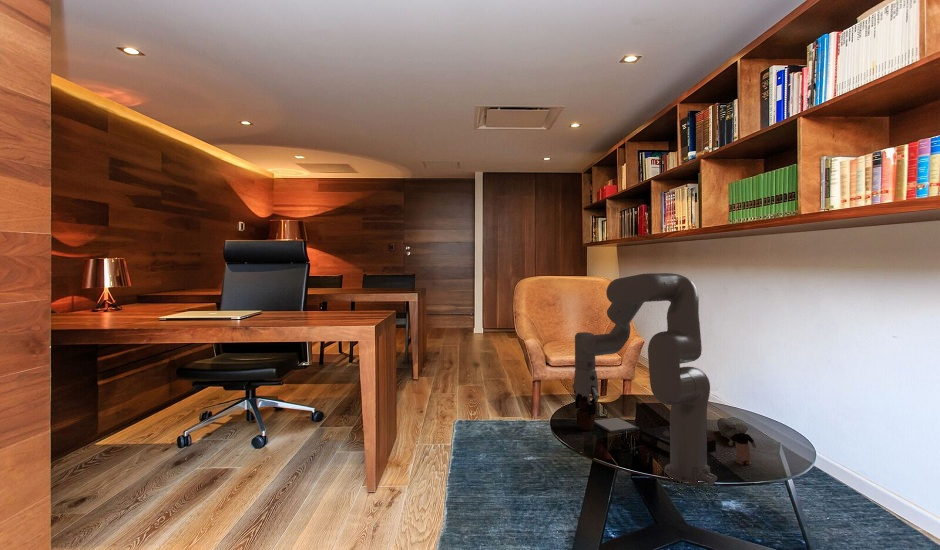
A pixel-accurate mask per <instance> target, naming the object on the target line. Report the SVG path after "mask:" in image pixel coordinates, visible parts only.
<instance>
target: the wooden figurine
mask: <svg viewBox="0 0 940 550" xmlns="http://www.w3.org/2000/svg"><path fill="white" fill-rule="evenodd" d="M588 404H589V403H588V400H587V397H585V396H582V395H581V394H580V401H579V408H577V410H576V413H575V417H576V423H577V426H578V428H579V429H580V430H582V431H592V430H593V428H594V426H595V424H594V421H595V420H596V417H595V415H596V414H595V415H588Z"/></svg>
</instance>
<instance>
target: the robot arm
mask: <svg viewBox="0 0 940 550" xmlns="http://www.w3.org/2000/svg"><path fill="white" fill-rule="evenodd" d="M605 293H606V297H607V300H608V302H609V303H611V304H610V305H609V307H608V308H607V310H606V315H607V317H608V318H609V320H610V321H611V322H612V323H613V324H614V326H613V328H612V329H611V331H610V332H609V333H600V334H594V333H592V332H585V331H583V332H581V331H580V332H577V333H576V334H575V335H574V374H573V375H574V378H573V384H572V389H573V393H574V398H575V406H574V407H575V409H580V408H579V401H580V394H581V395H582V396H585V397H587V400H588V403H589V404H588V415H596V410H597V405H598V403H597V402H598V400H599V398H600V394H599V380H598V374H597V370H596V357H598V356H605V355H614V354H616V353H618V352H620V350H621V351H622V349H623V347H624V346H625V345H626V344H627V342H628V340H629V339H630V336H631V322H632V321H633V319H634V318H635V316H636V315H637V313H638V312H639V311H640V309H641V308H642V306H643V305H644V303H646V302H647V303H648V302H649V303H650V302H663V301H664V302H666V301H667V302H670V304H669V307H668V309H667V313H666V323H667V324H666V325H667V326H666V328H667V329H666V330H665V331H664V330H663V331H660V332H657V333H655V334H654V335H652V337H651V338H650V340H649V342H648V346H647V357H648V374H649V385H650V390H651V392H652V395H653V397H654V398H655V399H656V400H657V401H658V402H659V403H661V404H663V405H666V406H670V410H669V411H670V412H669V425H670V455H669V458H670V459H669V460H670V461H669V462H670V463H668V464H666V465H665V466H664V474H665V473H666V474H667V475H668V476H669V477H671V478H673V479H674V480H673V481H675V482H677V481H681V482H689V483H681V482H678V483H679V484H683V485H686V486H692V487H707V486H714V484H715V483H716V481H717V480H718V476H717V475H716V474H713V473H711V466H710V465H708V453H707V437H708V432H707V431H708V430H707V428H708V420H707V419H708V404H709V400H710V393H711V383H710V380H709V377H708V376H707V374H706V373H705V372H704V371H703V370H701V369H700V368H698V367H695V366H681V364H688V363H691V362H695V361H697V360H698V359H699V358H700V357H701V355H702V349H703V348H702V336H701V327H700V326H701V325H700V324H701V323H700V315H699V314H700V313H699V311H700V310H699V309H700V307H699V306H700V305H699V301H700V300H699V291H698V289H697V287H696V285H695V283H694V282H693V281H692V280H691V279H689V278H688V277H687V276H685V275H682V274H679V273H678V274H677V273H669V272H668V273H667V272H666V273H665V272H663V273H662V272H661V273H655V272H654V273H652V272H650V273H641V274H635V275H629V276H624V277H620V278H619V277H618V278H615V279H613V280H612V281H610V282H609V284H608V285H607V288H606V292H605ZM666 474H665V475H666ZM667 475H666V476H667ZM668 476H667V477H668ZM669 477H668V478H669ZM671 478H670V479H671ZM698 481H705V482H698ZM704 483H708V484H704Z"/></svg>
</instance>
